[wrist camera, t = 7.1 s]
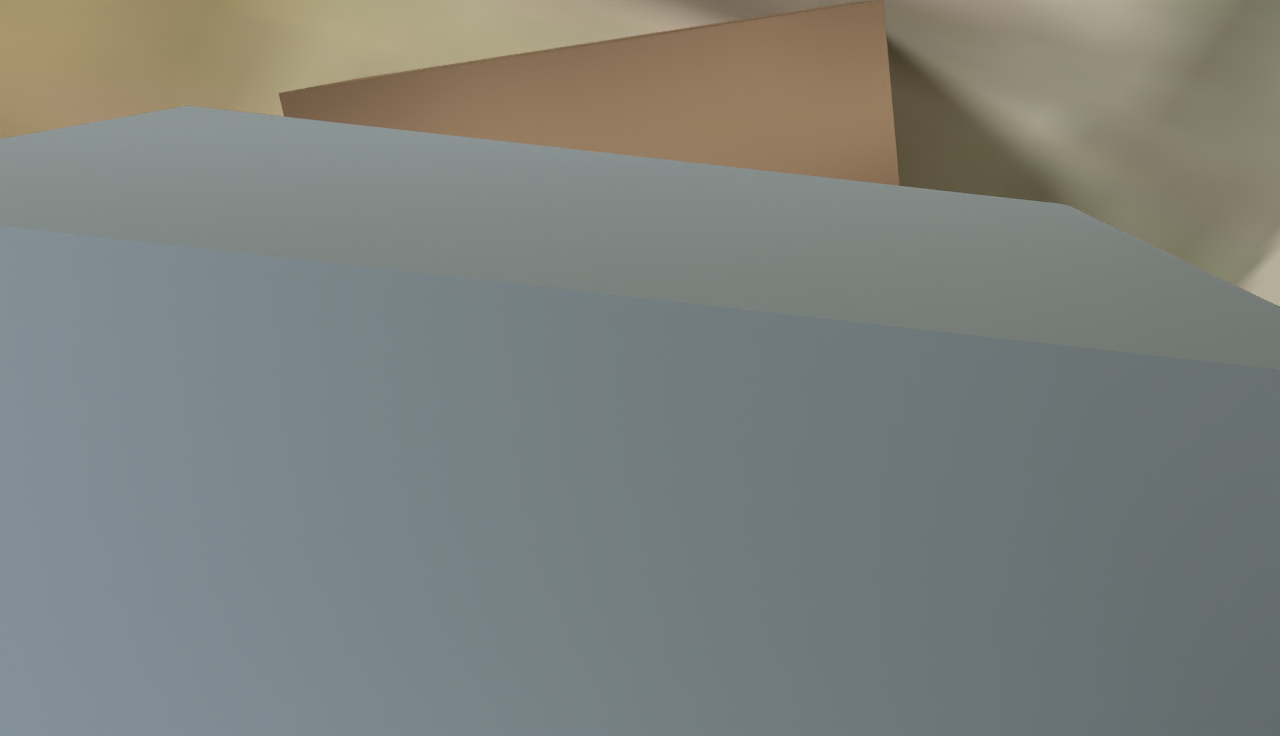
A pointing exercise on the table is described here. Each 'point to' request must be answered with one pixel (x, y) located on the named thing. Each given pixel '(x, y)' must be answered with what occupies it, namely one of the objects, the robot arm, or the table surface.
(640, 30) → the table surface
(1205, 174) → the table surface
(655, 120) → the walnut base
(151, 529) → the light blue box
